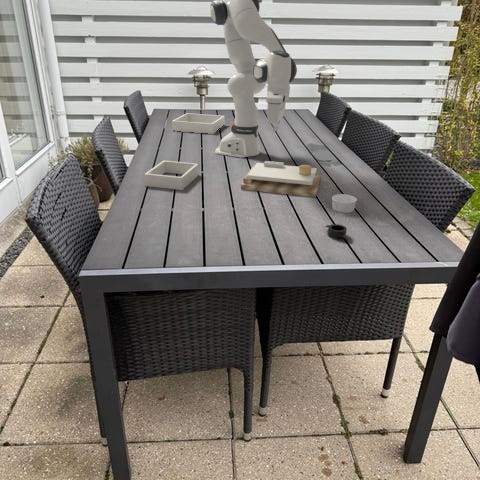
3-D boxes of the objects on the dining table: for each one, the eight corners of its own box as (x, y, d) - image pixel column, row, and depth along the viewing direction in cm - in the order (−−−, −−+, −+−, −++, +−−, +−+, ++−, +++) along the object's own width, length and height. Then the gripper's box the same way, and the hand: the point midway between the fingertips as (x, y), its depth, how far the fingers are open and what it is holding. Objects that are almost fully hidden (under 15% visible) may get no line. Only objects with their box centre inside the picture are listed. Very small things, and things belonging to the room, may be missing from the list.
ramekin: (341, 215, 165) (342, 204, 163) (325, 207, 172) (327, 196, 170) (360, 211, 168) (362, 200, 166) (344, 203, 175) (346, 192, 173)
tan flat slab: (240, 189, 186) (241, 180, 185) (252, 173, 206) (253, 164, 204) (315, 197, 180) (316, 187, 178) (320, 179, 199) (321, 171, 198)
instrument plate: (247, 178, 186) (247, 167, 184) (256, 166, 202) (257, 155, 200) (311, 185, 180) (312, 174, 178) (316, 171, 196) (317, 161, 194)
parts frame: (145, 185, 188) (144, 174, 185) (164, 171, 205) (163, 160, 203) (182, 190, 184) (181, 178, 182) (198, 175, 202) (198, 163, 199)
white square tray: (172, 131, 275) (172, 120, 272) (187, 122, 296) (186, 113, 294) (212, 134, 269) (212, 124, 267) (224, 125, 291) (224, 115, 288)
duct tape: (346, 230, 154) (347, 222, 152) (350, 243, 145) (351, 235, 143) (323, 229, 154) (324, 221, 153) (325, 242, 145) (326, 233, 144)
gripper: (274, 91, 194) (273, 124, 200) (265, 98, 176) (263, 135, 182) (289, 92, 192) (287, 125, 198) (281, 99, 174) (279, 136, 181)
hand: (275, 130), depth 190 cm, fingers closed
